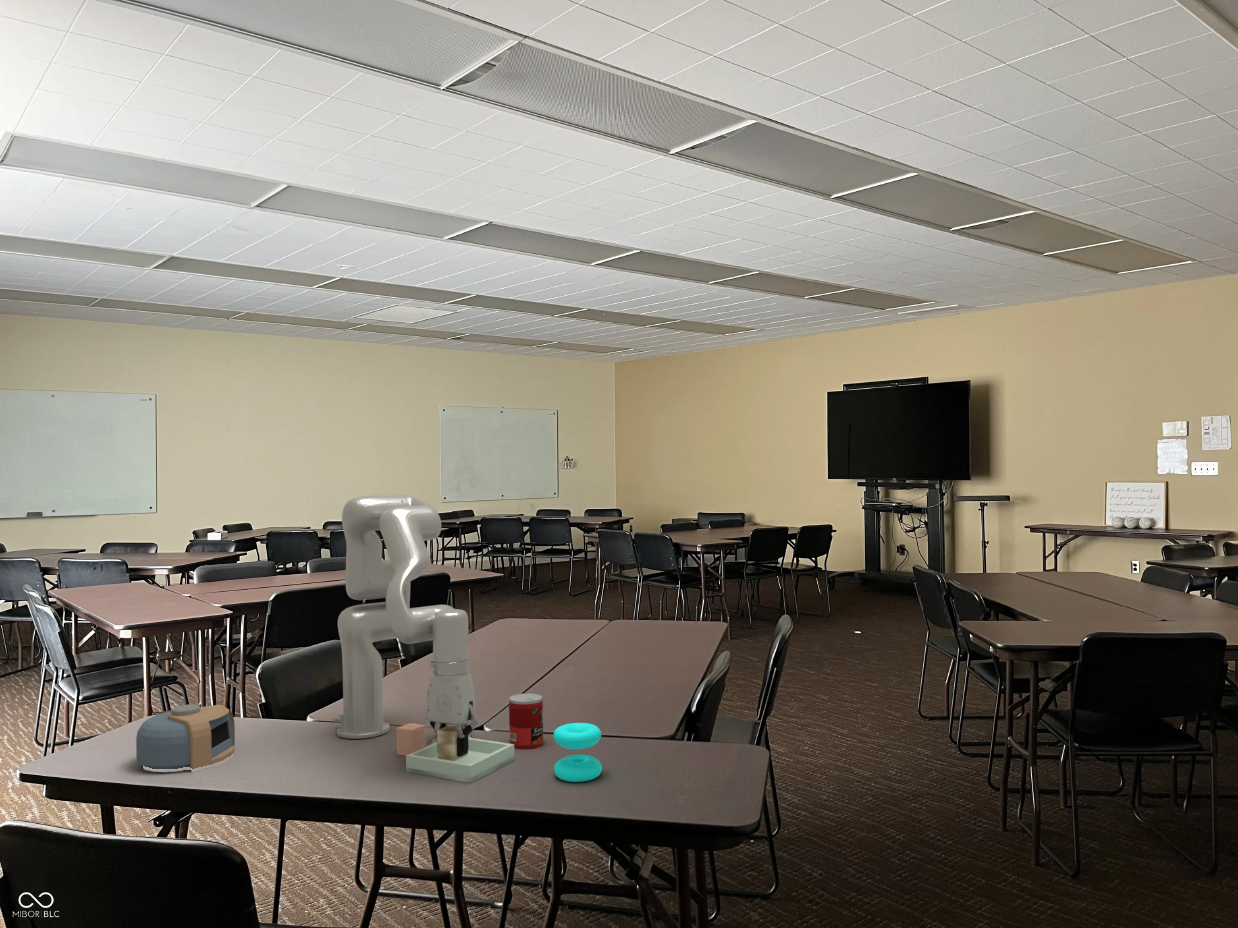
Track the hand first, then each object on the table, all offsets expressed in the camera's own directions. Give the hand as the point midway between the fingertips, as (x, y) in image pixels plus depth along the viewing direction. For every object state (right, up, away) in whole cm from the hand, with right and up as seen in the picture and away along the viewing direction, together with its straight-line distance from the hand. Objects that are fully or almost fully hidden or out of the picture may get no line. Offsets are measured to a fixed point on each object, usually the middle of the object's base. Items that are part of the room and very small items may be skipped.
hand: (452, 752), depth 189 cm
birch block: (0, -1, 0) cm, 1 cm away
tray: (+1, -4, +3) cm, 5 cm away
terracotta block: (-12, -5, +14) cm, 19 cm away
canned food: (+14, -4, +18) cm, 23 cm away
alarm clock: (-63, -6, +11) cm, 64 cm away
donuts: (+27, -4, -4) cm, 28 cm away
